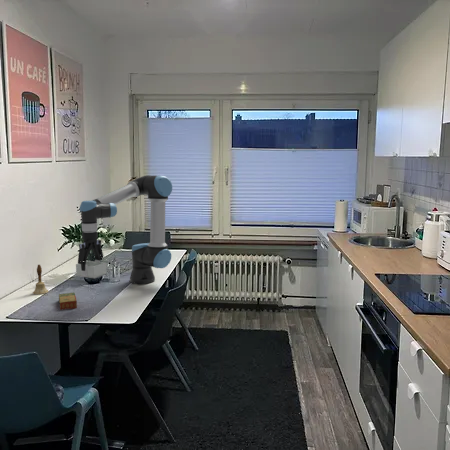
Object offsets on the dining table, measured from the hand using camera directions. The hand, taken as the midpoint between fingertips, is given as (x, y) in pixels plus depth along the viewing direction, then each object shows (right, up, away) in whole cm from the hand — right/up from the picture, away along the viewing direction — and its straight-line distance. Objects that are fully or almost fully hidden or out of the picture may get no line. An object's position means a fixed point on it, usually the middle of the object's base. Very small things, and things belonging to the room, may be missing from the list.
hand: (91, 274), depth 233 cm
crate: (0, 0, 0) cm, 0 cm away
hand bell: (-35, -13, +22) cm, 44 cm away
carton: (-13, -16, +2) cm, 21 cm away
